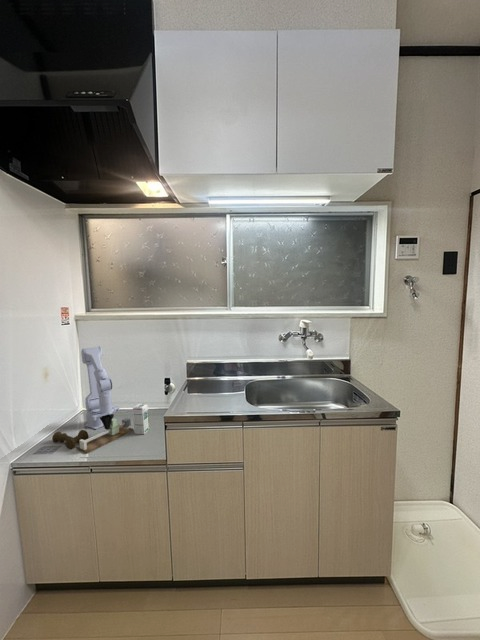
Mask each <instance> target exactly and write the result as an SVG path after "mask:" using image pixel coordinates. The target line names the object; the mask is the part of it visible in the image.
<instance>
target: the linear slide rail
mask: <svg viewBox="0 0 480 640" xmlns="http://www.w3.org/2000/svg"><path fill="white" fill-rule="evenodd" d="M131 421H132V419H131V418H128V417H125V418H123V419H122V420H121V423H118V424H119V428H120V427H122V426H123V427H124V428H125V429H128V428H130V426H132V422H131ZM110 431H111V429H108V430H107V429H105V430H104V431H102V432H100V433H98V434H96V435H94V436H91V437H89V438H88V439H86V440H83V439H81V440H79V441H80V442H79V446H80V448H81V449H83V450H86V449H87V442H89V441H91V440H94V439H96V438H98V437H100V436H102V435H104V434H107V433H108V432H110Z"/></svg>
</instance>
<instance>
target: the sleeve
mask: <svg viewBox="0 0 480 640" xmlns="http://www.w3.org/2000/svg"><path fill="white" fill-rule="evenodd" d="M119 424H120V423H118V419H117V418H114V417H113V418H112V421H111V424H110V429H111V431H110V432H108V434H111V435H114V434H117V433H119Z"/></svg>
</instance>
